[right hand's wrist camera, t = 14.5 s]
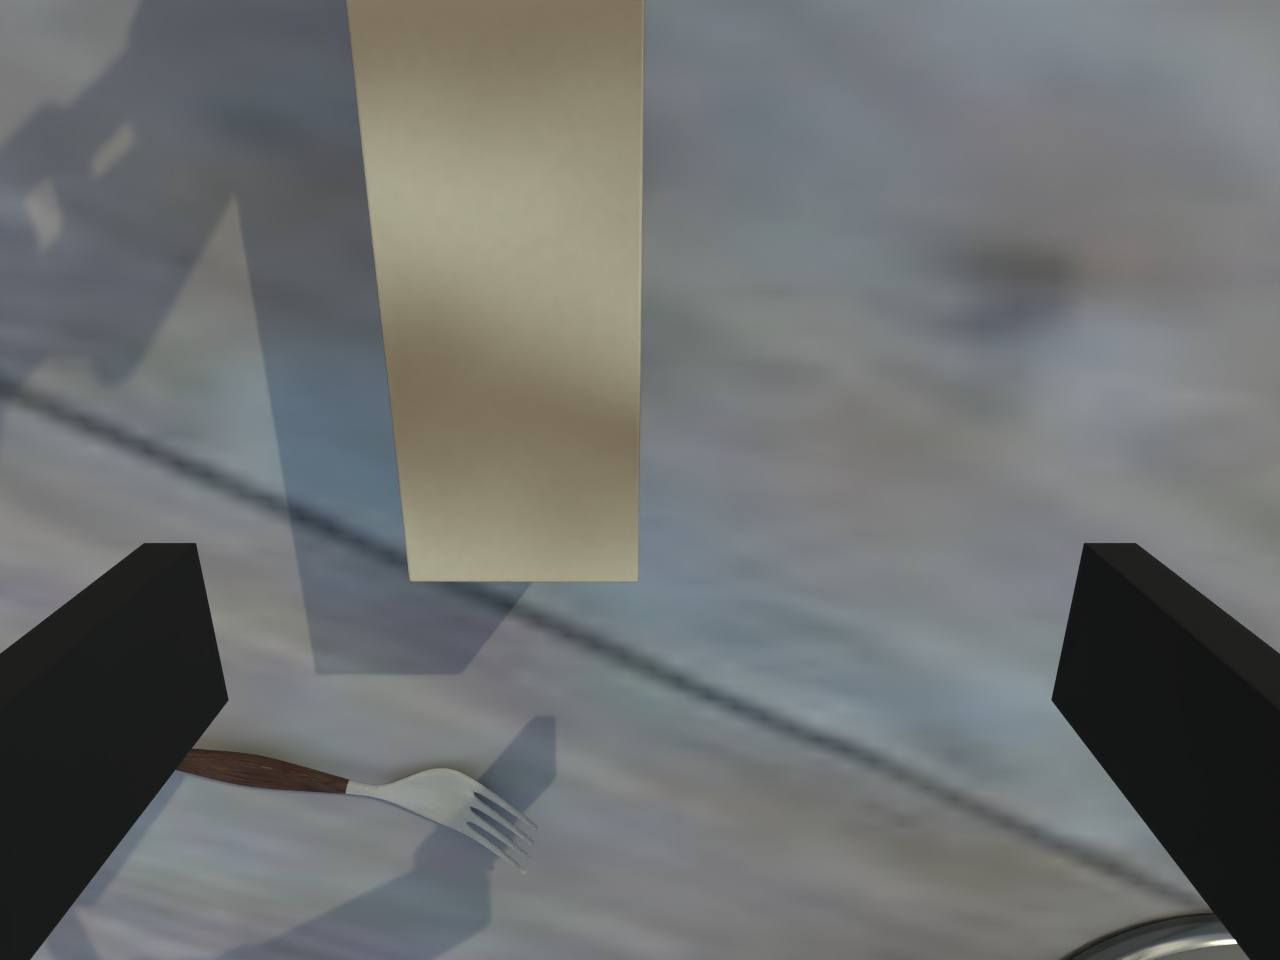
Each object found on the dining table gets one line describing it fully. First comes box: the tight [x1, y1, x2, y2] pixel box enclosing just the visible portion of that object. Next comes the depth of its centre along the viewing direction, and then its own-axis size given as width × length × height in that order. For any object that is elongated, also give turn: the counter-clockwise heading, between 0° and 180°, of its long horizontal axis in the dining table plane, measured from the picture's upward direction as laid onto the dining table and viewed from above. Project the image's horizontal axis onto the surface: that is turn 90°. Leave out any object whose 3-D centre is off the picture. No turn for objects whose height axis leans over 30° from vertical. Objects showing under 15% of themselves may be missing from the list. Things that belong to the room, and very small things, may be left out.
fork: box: [176, 749, 538, 875], centre depth 29 cm, size 3×16×2 cm, turn 76°
